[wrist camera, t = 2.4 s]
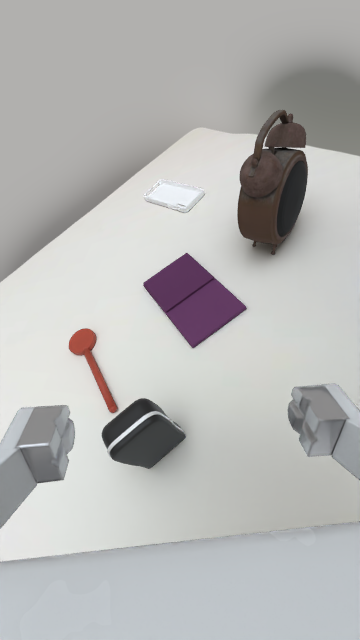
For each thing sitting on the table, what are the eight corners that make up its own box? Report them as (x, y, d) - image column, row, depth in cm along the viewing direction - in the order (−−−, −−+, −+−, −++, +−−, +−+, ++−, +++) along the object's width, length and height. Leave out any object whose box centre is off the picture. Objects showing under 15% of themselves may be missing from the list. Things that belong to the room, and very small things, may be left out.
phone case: (205, 193, 66) (162, 183, 74) (204, 188, 65) (160, 178, 73) (186, 213, 64) (144, 200, 73) (184, 208, 63) (142, 195, 71)
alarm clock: (278, 268, 49) (276, 152, 33) (240, 258, 52) (222, 150, 36) (311, 212, 53) (323, 87, 37) (274, 207, 57) (271, 91, 41)
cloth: (188, 255, 57) (187, 251, 56) (246, 308, 46) (245, 304, 45) (144, 286, 56) (141, 283, 55) (193, 348, 45) (191, 345, 44)
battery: (173, 414, 40) (141, 388, 31) (188, 436, 38) (159, 414, 29) (135, 447, 40) (90, 430, 30) (148, 471, 37) (104, 461, 28)
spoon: (91, 326, 55) (87, 322, 54) (130, 402, 43) (126, 400, 42) (68, 341, 54) (64, 338, 53) (102, 423, 43) (98, 421, 42)
